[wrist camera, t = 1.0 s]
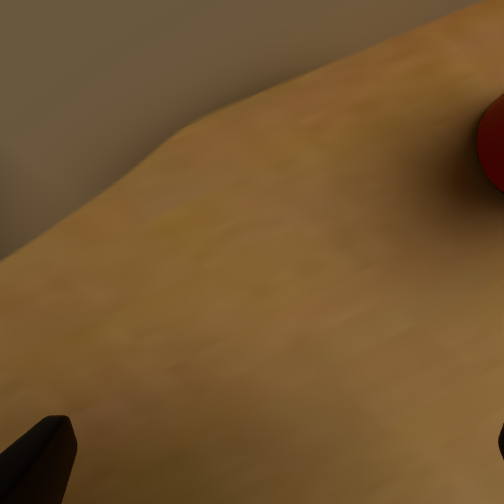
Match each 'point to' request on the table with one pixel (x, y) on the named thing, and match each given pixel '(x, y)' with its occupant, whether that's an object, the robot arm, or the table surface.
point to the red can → (492, 143)
